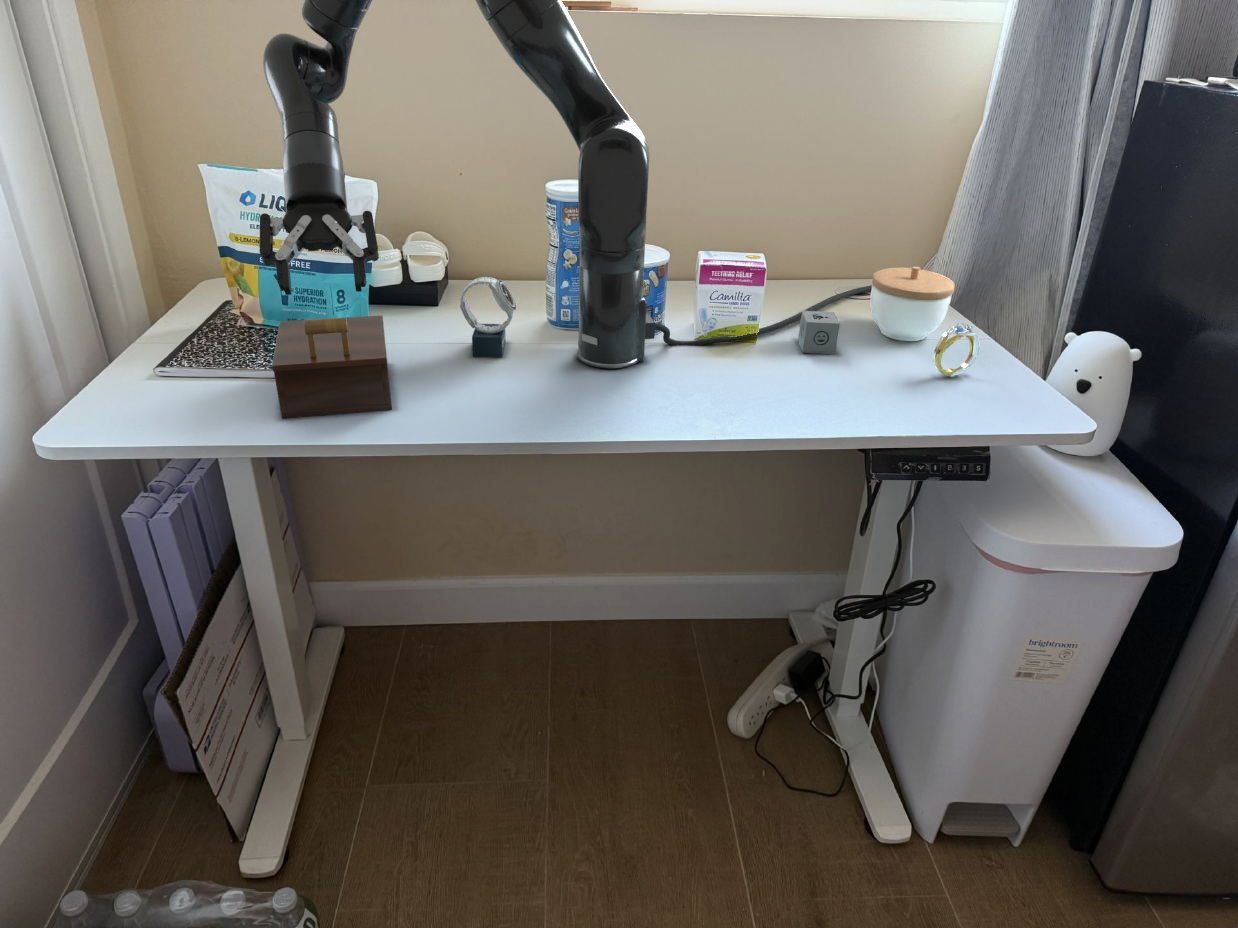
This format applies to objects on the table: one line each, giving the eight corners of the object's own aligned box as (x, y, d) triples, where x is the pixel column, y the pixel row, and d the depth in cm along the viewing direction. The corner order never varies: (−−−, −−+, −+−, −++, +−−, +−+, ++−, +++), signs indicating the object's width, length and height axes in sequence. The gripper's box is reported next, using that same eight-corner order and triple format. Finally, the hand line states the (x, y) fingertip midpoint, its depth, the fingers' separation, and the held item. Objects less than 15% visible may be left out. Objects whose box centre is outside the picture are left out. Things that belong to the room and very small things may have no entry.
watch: (515, 357, 133) (513, 286, 127) (461, 356, 133) (456, 284, 127) (518, 343, 138) (516, 273, 132) (466, 342, 137) (462, 272, 132)
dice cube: (797, 340, 142) (802, 310, 140) (829, 342, 142) (834, 312, 140) (802, 352, 138) (806, 322, 136) (834, 354, 138) (839, 323, 136)
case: (392, 409, 117) (386, 361, 113) (281, 418, 113) (273, 369, 110) (387, 365, 129) (383, 320, 126) (288, 372, 126) (280, 327, 122)
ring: (965, 370, 134) (977, 319, 130) (977, 378, 132) (990, 327, 128) (923, 373, 133) (935, 322, 129) (935, 382, 130) (947, 330, 126)
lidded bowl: (863, 342, 143) (875, 275, 137) (863, 316, 153) (874, 252, 148) (945, 352, 140) (961, 284, 135) (940, 324, 151) (954, 260, 146)
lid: (387, 363, 113) (382, 321, 110) (272, 371, 109) (265, 328, 107) (383, 320, 125) (379, 282, 123) (280, 326, 122) (274, 287, 120)
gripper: (250, 161, 111) (258, 279, 107) (369, 159, 115) (380, 274, 111) (261, 194, 118) (268, 306, 114) (372, 192, 122) (383, 300, 118)
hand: (323, 290), depth 113 cm, fingers open, 8 cm apart
